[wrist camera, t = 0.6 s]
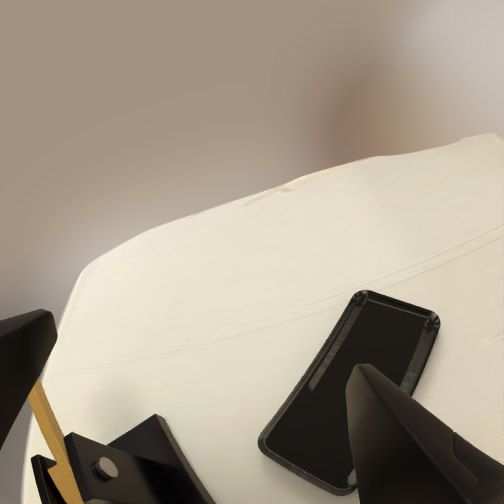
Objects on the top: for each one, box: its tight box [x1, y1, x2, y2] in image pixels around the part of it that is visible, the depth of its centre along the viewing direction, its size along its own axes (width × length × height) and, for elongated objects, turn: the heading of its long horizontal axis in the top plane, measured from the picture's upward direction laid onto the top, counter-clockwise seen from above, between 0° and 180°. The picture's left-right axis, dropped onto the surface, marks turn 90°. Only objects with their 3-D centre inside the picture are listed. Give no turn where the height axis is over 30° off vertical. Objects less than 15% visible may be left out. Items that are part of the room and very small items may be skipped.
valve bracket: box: [31, 414, 215, 504], centre depth 13 cm, size 12×9×10 cm
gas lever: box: [28, 378, 88, 504], centre depth 13 cm, size 13×3×3 cm, turn 35°
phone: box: [258, 290, 440, 496], centre depth 18 cm, size 8×1×15 cm
